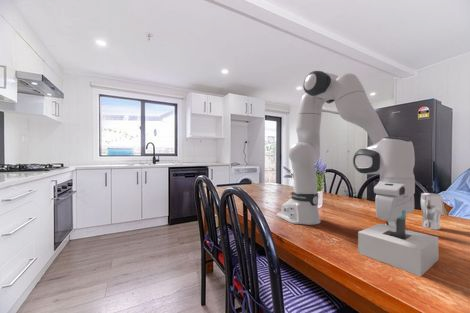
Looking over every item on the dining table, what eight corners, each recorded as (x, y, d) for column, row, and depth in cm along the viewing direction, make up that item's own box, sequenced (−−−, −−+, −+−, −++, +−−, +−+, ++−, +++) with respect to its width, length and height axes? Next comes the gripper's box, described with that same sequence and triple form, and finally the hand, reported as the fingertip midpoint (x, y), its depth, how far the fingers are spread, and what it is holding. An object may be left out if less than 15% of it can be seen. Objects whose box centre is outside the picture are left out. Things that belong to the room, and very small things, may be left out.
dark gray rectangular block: (386, 246, 66) (386, 209, 66) (392, 243, 69) (392, 207, 68) (402, 251, 63) (402, 212, 63) (408, 247, 65) (407, 210, 65)
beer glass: (420, 227, 91) (420, 194, 91) (420, 223, 96) (420, 192, 96) (442, 231, 86) (442, 196, 86) (441, 227, 92) (441, 194, 92)
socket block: (358, 252, 68) (358, 232, 68) (379, 241, 77) (379, 223, 77) (420, 276, 55) (420, 250, 55) (438, 259, 63) (438, 237, 63)
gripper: (397, 183, 74) (397, 220, 74) (371, 188, 63) (371, 232, 63) (420, 185, 69) (420, 225, 69) (395, 191, 58) (395, 239, 58)
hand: (396, 229), depth 66 cm, fingers closed on dark gray rectangular block, 4 cm apart
